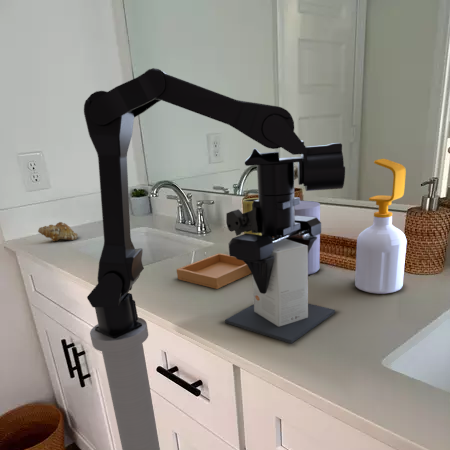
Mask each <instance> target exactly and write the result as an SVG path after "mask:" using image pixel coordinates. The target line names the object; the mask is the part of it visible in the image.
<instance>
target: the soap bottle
mask: <svg viewBox="0 0 450 450" xmlns="http://www.w3.org/2000/svg"><path fill="white" fill-rule="evenodd" d="M373 164H375V165H376V166H380V167H383V168H385V169H387V170H390V171H391V172H392V177H393V178H392V189H391V190H392V192H391V193H392V194H391V195H381V194H380V195H379V194H378V195H374V196H370V197H369V198H368V201H370V202H375V205H376V206H378V211H374V212H373V222H372V225H370V226H368V227H366V228H365V229H363V230H362V231H361V232H360V233H358V235H357V238H356V253H355V275H354V276H355V277H354V278H355V279H354V286H355V287H356V288H357V289H358V290H360V291H363V292H365V293H370V294H377V295H379V294H382V295H383V294H392V293H395V292H398V291H400V290H401V289H402V288H403V285H404V276H405V275H404V274H405V261H406V252H407V243H408V242H407V241H408V240H407V238H406V235H405V233H404V232H403V230H401V229H399V228H398V227H396V226H394V225H393V224H392V223H393V212H392V211H389V206H391V205H392V202H393V201H396V200H398V199H401V198H402V197H403V196H404V195H405V186H406V177H407V176H406V175H407V170H406V167H405V166H404V165H403V164H401V163H398V162H395V161H392V160H391V159H387V158H379V159H375V160H374V161H373Z"/></svg>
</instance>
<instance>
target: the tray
mask: <svg viewBox="0 0 450 450" xmlns="http://www.w3.org/2000/svg"><path fill="white" fill-rule="evenodd" d="M248 275H252V273H251V271H250V269H249V267H248V266H247V264H246V263H245V262H243V261H242V260H238V259H236V257H233V256H230V255H229V254H226V253H221V252H218V253H216V254H213V255H210V256H208V257H205V258H202V259H200V260H197V261H194V262H192V263H188V264H186V265H184V266H181V267H178V268H176V276H177V280H179V281H182V282H183V281H184V282H187V283H191V284H195V285H200V286H203V287H207V288H210V289H216V290H218V289H220V288H222V287H225V286H227V285H229V284H231V283H233V282H235V281H238V280H240V279H242V278H245V277H247V276H248Z"/></svg>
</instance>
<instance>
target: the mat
mask: <svg viewBox="0 0 450 450" xmlns="http://www.w3.org/2000/svg"><path fill="white" fill-rule="evenodd" d="M335 312H336V310H335V309H332V308H329V307H325V306H321V305H317V304H312V303H308V318H305V319H302V320H299V321H296V322H293V323H290V324H286V325H283V326H280V327H278V326H277V325H275V324H273V323H272V322H270V321H269V320H267V319H265V318H264V317H262V316H261V315H259V314H257V313H256V312H254V303H253V304H252V305H250V306H248V307H246V308H244V309H242V310H240V311H238V312H236V313H235V314H233V315H231V316H230V317H228V318H226V319H224V324H228V325H231V326H235V327H237V328H240V329H244V330H246V331H250V332H253V333H256V334H259V335H263V336H265V337H269V338H272V339H275V340H278V341H281V342H285V343H287V344H293V343H294V342H296V341H297V340H298V339H300V338H302V337H303V336H304V335H305V334H307V333H308V332H310V331H312V330H313V329H314V328H316V327H317V326H318V325H320V324H321V323H322V322H324V321H325V320H327V319H328V318H330V317H332V315H334V314H335Z"/></svg>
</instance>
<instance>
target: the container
mask: <svg viewBox="0 0 450 450" xmlns="http://www.w3.org/2000/svg"><path fill="white" fill-rule="evenodd" d="M295 216H306V217H317V218H318V220H319V221H320V222H321V203H320V202H317V201H313V200H300V204H298V205H295ZM316 236H317V240H315V241H314V243H313V245H312V247H311V249H310V251H309V253H308V276H310V275H314V274H315V273H317V272H318V271H319V270H320V264H321V263H320V257H321V256H320V255H321V254H320V253H321V250H320V248H321V234H319V235H316Z"/></svg>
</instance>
